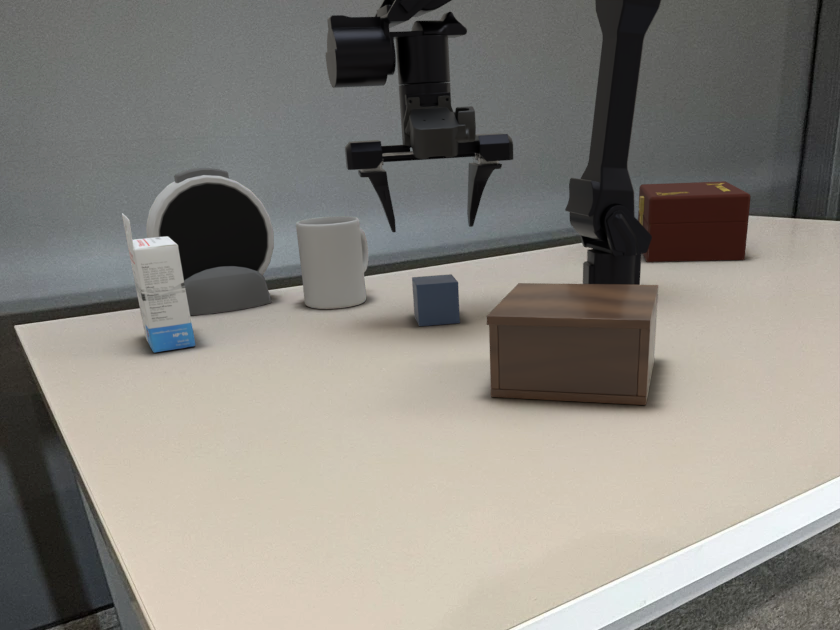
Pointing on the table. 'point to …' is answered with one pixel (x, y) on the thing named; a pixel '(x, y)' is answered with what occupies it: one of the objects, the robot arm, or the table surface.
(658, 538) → the table surface
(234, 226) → the alarm clock
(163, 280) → the ink box
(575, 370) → the box
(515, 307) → the lid
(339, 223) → the mug
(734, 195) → the box
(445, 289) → the block
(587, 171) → the robot arm
